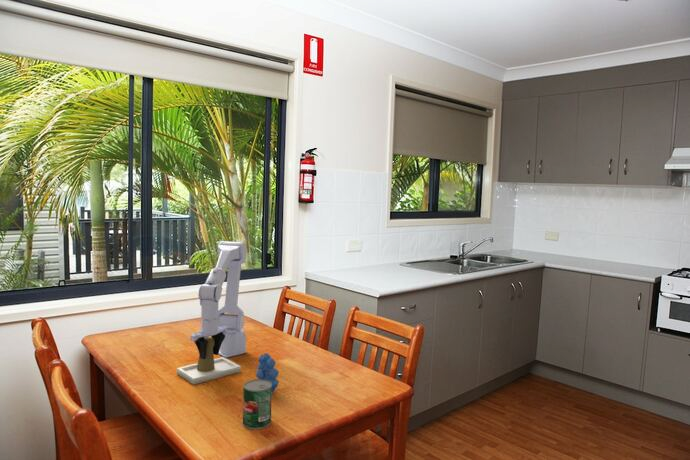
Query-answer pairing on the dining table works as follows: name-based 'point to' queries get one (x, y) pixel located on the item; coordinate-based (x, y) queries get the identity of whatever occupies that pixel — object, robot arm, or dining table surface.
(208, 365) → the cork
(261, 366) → the grapes
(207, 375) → the white tray
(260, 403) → the canned tomato
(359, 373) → the dining table surface
